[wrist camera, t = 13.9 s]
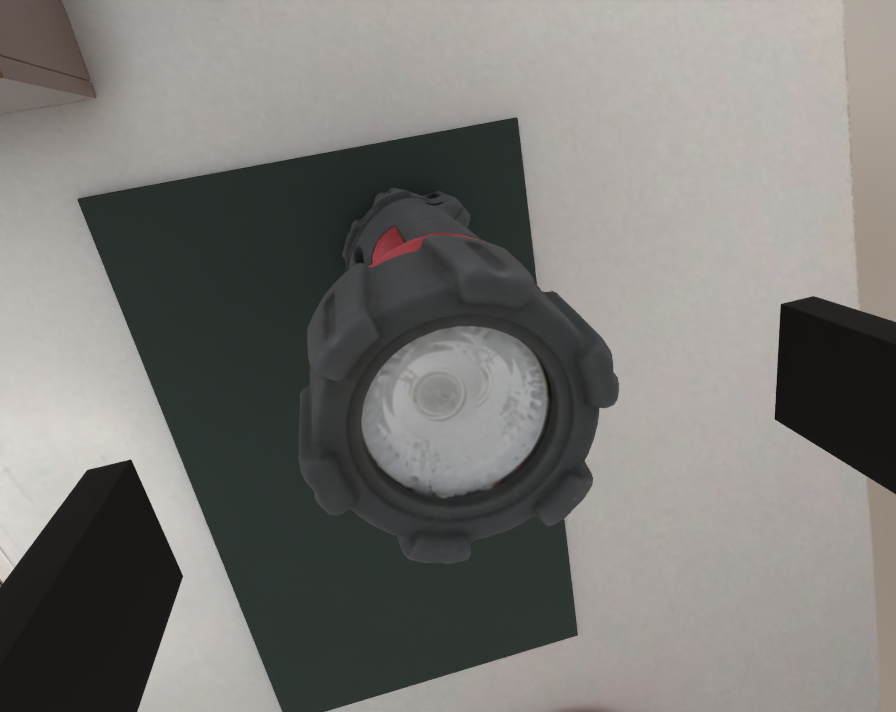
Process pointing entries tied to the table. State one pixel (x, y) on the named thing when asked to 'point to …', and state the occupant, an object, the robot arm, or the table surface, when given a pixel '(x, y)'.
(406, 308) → the flashlight
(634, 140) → the table surface
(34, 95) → the brown open box
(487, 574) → the mat
